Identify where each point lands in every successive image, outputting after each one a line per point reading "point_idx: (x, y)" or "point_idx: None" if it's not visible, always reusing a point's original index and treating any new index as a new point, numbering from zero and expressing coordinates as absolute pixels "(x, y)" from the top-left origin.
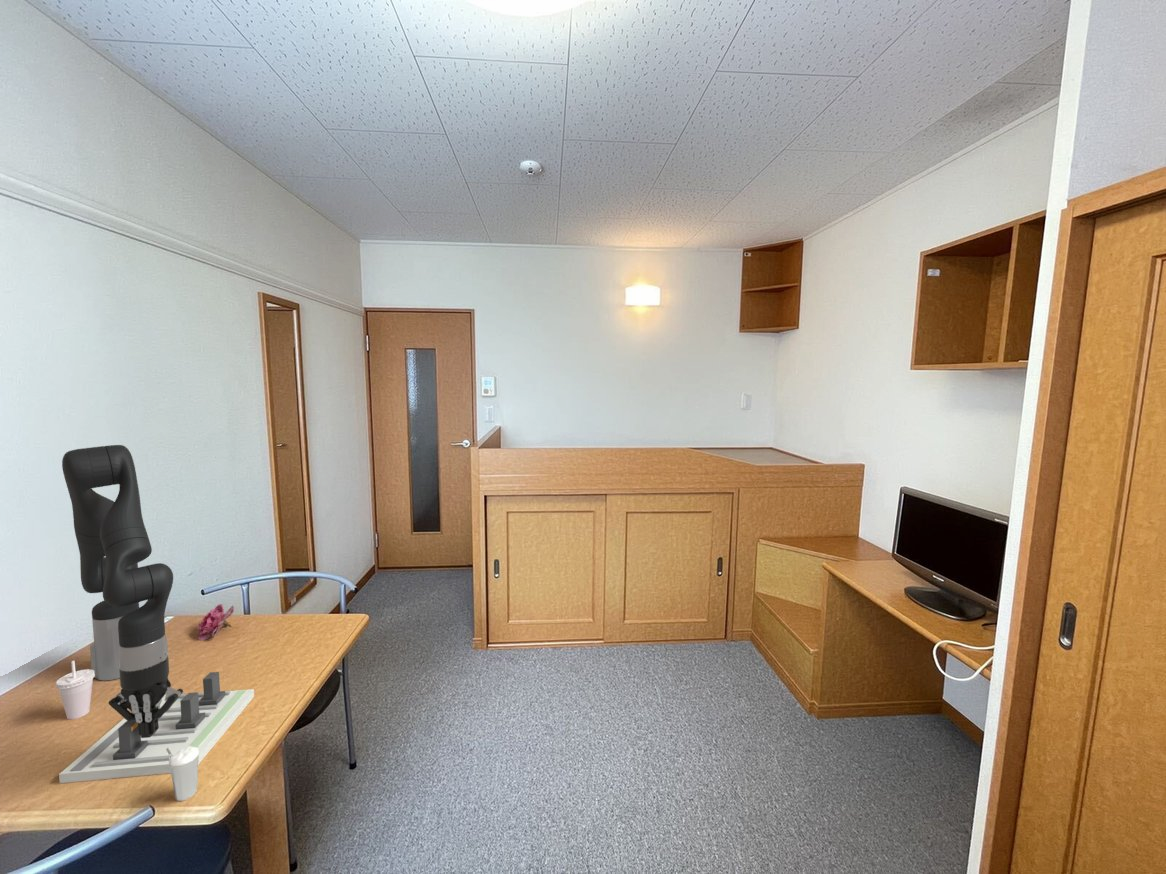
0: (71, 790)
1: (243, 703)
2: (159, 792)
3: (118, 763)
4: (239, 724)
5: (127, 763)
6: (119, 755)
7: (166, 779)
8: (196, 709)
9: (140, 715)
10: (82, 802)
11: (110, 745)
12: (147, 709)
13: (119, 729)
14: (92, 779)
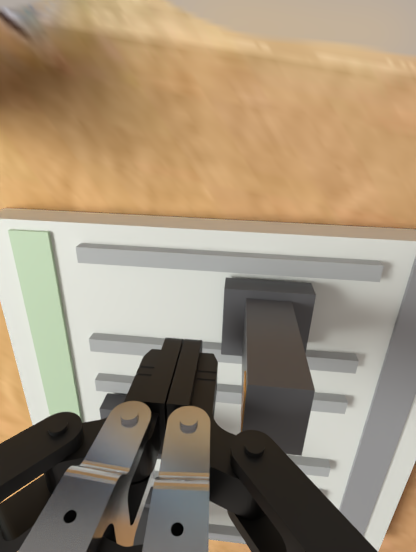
0: (407, 183)
1: None
2: (44, 108)
3: (274, 257)
4: (22, 395)
5: (238, 254)
6: (287, 290)
7: (71, 179)
8: None
9: (171, 456)
10: (322, 102)
11: (375, 370)
12: (71, 498)
13: (306, 385)
14: (355, 227)
